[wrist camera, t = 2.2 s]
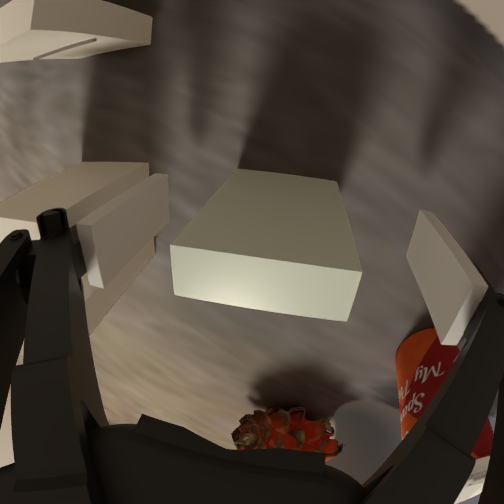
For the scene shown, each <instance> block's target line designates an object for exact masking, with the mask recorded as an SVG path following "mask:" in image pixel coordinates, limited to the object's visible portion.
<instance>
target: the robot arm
mask: <svg viewBox="0 0 504 504" xmlns="http://www.w3.org/2000/svg"><path fill="white" fill-rule="evenodd" d="M36 220H37V225H38V229H39V233H40V240H31V237H30V233H29V230H26V229H21V230H18V229H17V230H15V231H12V232H11V233H10V234H8V235H7V236H6V237H5V238H4V239H3V240H2V242H1V243H0V428H1V424H2V419H3V414H4V410H5V405H6V401H7V396H8V392H9V388H10V384H11V425H12V440H13V452H14V460H15V463H12V464H10V465H7V466H4V467H1V468H0V504H454V503H455V501H456V499H457V498H458V496H459V494H460V493H461V491H462V489H463V487H464V486H465V484H466V482H467V480H468V478H469V476H470V475H471V473H472V471H473V468H474V466H475V463H476V459H475V458H474V457H472V456H471V453H472V451H473V449H474V447H475V444H476V442H477V440H478V438H479V436H480V434H481V432H482V429H483V427H484V425H485V422H486V420H487V417H488V415H489V413H490V410H491V407H492V405H493V402H494V399H495V397H496V394H497V391H498V388H499V393H498V405H497V415H496V423H495V430H494V437H493V443H492V449H491V454H490V459H489V464H488V468H487V472H486V477H485V481H484V484H483V488H482V492H481V495H480V499H479V502H478V504H504V294H501V293H495V291H494V290H493V288H492V287H491V285H490V284H489V282H488V281H487V280H486V278H485V277H484V275H483V274H482V272H481V271H480V269H479V268H478V267H477V266H476V265H475V264H474V263H473V262H472V261H471V260H470V259H469V258H468V256H467V255H466V254H465V252H464V251H463V250H462V248H461V247H460V246H459V244H458V243H457V242H456V241H455V239H454V238H453V237H452V236H451V234H450V233H449V232H448V231H447V229H446V228H445V227H444V226H443V224H442V223H441V222H440V221H439V220H438V218H437V217H436V216H435V215H434V214H433V213H432V212H429V211H424V210H419V214H418V217H417V221H416V225H415V228H414V231H413V235H412V238H411V241H410V245H409V248H408V251H407V254H406V258H407V261H408V263H409V265H410V267H411V269H412V272H413V274H414V276H415V278H416V281H417V283H418V285H419V288H420V290H421V293H422V295H423V298H424V300H425V302H426V305H427V308H428V310H429V313H430V315H431V318H432V321H433V323H434V326H435V329H436V331H437V334H438V337H439V340H440V343H441V344H442V345H457V344H458V342H459V340H460V339H461V337H462V335H463V334H464V335H465V337H466V339H467V341H466V343H465V344H464V346H463V348H462V349H461V351H460V352H459V354H458V355H457V357H456V358H455V360H454V361H453V362H454V364H453V366H452V368H451V369H450V371H449V373H448V374H447V376H446V378H445V379H444V381H443V383H442V384H441V386H440V388H439V389H438V391H437V392H436V394H435V395H434V397H433V398H432V400H431V402H430V403H429V405H428V406H427V407H426V409H425V410H424V412H423V413H422V415H421V416H420V417H419V419H418V420H417V422H416V423H415V424H414V426H413V427H412V428H411V430H410V431H409V432H408V434H407V435H406V436H405V438H404V439H403V440H402V442H401V443H400V444H399V445H398V446H397V448H396V449H395V450H394V452H393V453H392V454H391V455H390V456H389V457H388V458H387V460H386V461H385V462H384V463H383V464H382V466H381V467H380V468H379V469H378V470H377V471H376V472H375V473H374V474H373V475H372V476H371V477H370V478H369V479H368V480H367V481H366V482H365V483H364V484H363V485H361V484H360V483H359V482H358V481H356V480H355V479H353V478H352V477H351V476H349V475H348V474H346V473H344V472H342V471H341V470H338V469H336V468H334V467H331V466H328V465H325V459H326V453H320V452H310V451H300V450H292V449H284V448H270V449H248V450H229V449H225V448H223V447H221V446H219V445H217V444H215V443H213V442H211V441H209V440H207V439H205V438H203V437H201V436H199V435H197V434H195V433H193V432H191V431H190V430H188V429H186V428H184V427H181V426H178V425H175V424H171V423H168V422H165V421H162V420H159V419H156V418H153V417H150V416H147V415H144V414H142V415H141V417H140V419H139V421H138V423H137V424H116V425H110V426H109V424H108V421H107V419H106V415H105V412H104V408H103V404H102V400H101V396H100V391H99V387H98V382H97V378H96V373H95V368H94V362H93V357H92V351H91V345H90V339H89V332H88V325H87V317H86V309H85V299H84V289H83V283H82V279H81V277H82V276H83V275H84V274H85V273H86V272H87V276H88V280H89V284H90V285H92V286H96V287H100V288H103V289H104V288H105V287H106V286H107V285H108V284H109V283H110V282H111V281H112V279H113V278H114V277H115V276H116V275H117V274H118V273H119V272H120V271H121V270H122V269H123V268H124V267H125V266H126V265H127V264H128V263H129V262H130V261H131V259H132V258H133V257H134V256H135V255H136V254H137V253H138V252H139V251H140V250H141V249H142V248H143V247H144V246H145V245H146V244H147V243H148V242H149V241H150V240H151V239H152V238H153V237H154V236H155V235H156V234H157V233H158V232H159V231H160V230H161V229H162V228H163V227H164V226H165V225H167V224H168V223H169V222H170V215H169V192H168V174H160V173H155V174H153V175H151V176H150V177H148V178H146V179H144V180H143V181H141V182H139V183H138V184H136V185H134V186H133V187H131V188H129V189H128V190H126V191H125V192H123V193H121V194H120V195H118V196H117V197H115V198H113V199H112V200H110V201H109V202H107V203H106V204H104V205H102V206H101V207H99V208H98V209H96V210H95V211H93V212H92V213H90V214H89V215H87V216H86V217H84V218H83V219H81V220H80V221H79V222H77V223H76V224H75V225H73V226H72V227H71V228H69V223H68V218H67V212H66V209H64V208H53V209H49V210H46V211H44V212H42V213H40V214H39V215H38V216H37V217H36ZM24 338H25V339H24ZM23 341H24V357H23V365H17V366H16V363H17V359H18V356H19V353H20V350H21V347H22V344H23Z"/></svg>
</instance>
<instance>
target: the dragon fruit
mask: <svg viewBox="0 0 504 504" xmlns="http://www.w3.org/2000/svg"><path fill="white" fill-rule="evenodd" d="M305 414H306V411H305V408H303V407H301V406H299V407H295V408H291V409H290V410H289V411H288V412H287V411H285V410H283V409H282V408H279V407H276V408H274V407H273V408H271V409H268V410H267V411H266V412H264V411H262V410H255V411H254V415H251V414H248V415H247V414H246V415H245V416H244V417H242V418H241V419H240V420H239V422H240V423H241V424H240V426H239V427H238V428H236V429H235V430H234V431H233V433H232V438H233V441H234V443H235V446H236V448H237V450H248V449H270V448H284V449H292V450H300V451H310V452H320V453H326V459H325V462H326V461H327V460H329V459H331V458H333V457H336V456H337V455H338V454H339V453H340V452H341V450H342V448H343V444H341V445H340V446H339V445H338V441H337V440H335V439H331V440H330V438H329V437H330V436H333V435H334V429H333V427H331V426H330V425H331V423H330V422H329V419H328V418H326V419H325V420H317V421H309V420H308V419H306V418H305ZM327 430H328V431H330V432H331V433H329V432H327Z"/></svg>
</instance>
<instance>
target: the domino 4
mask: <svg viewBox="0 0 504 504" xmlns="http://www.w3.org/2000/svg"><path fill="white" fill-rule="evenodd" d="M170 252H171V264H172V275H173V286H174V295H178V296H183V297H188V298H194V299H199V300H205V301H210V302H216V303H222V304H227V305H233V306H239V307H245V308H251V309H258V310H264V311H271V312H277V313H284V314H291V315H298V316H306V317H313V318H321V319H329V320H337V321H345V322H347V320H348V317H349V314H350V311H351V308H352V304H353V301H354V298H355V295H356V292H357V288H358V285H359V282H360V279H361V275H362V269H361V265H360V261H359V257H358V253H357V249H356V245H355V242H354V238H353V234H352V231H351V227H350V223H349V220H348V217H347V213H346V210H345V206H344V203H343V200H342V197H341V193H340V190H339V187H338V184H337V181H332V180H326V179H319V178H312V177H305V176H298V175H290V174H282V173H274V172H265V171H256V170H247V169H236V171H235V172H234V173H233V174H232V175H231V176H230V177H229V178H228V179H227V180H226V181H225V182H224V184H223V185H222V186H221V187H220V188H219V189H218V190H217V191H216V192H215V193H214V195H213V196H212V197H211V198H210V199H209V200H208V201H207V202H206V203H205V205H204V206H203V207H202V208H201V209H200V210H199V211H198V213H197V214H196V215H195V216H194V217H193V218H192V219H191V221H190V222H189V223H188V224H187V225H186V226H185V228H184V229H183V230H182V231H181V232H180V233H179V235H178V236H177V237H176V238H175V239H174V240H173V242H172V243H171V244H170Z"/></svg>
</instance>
